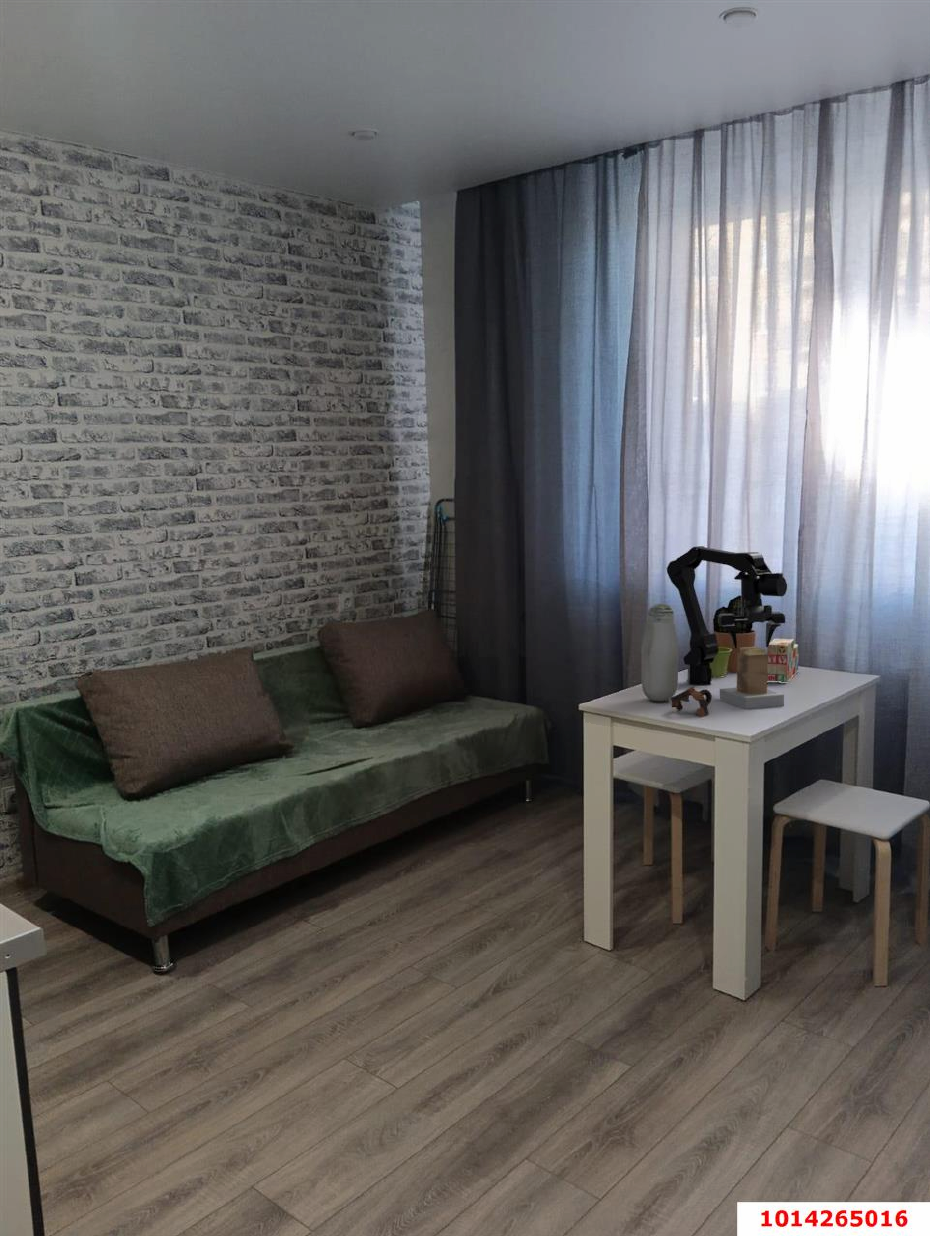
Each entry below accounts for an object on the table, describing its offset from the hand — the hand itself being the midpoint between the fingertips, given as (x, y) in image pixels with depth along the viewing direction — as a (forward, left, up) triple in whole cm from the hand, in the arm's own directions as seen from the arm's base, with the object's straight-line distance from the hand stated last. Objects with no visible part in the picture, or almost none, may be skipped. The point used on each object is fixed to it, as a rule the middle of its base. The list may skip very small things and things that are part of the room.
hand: (751, 647), depth 311 cm
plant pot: (-5, +25, -14) cm, 29 cm away
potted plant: (+3, +35, -14) cm, 38 cm away
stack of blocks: (+16, +22, -14) cm, 30 cm away
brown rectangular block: (-3, -15, -10) cm, 19 cm away
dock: (-4, -15, -13) cm, 20 cm away
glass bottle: (-29, -12, -13) cm, 34 cm away
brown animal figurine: (-22, -28, -14) cm, 38 cm away
